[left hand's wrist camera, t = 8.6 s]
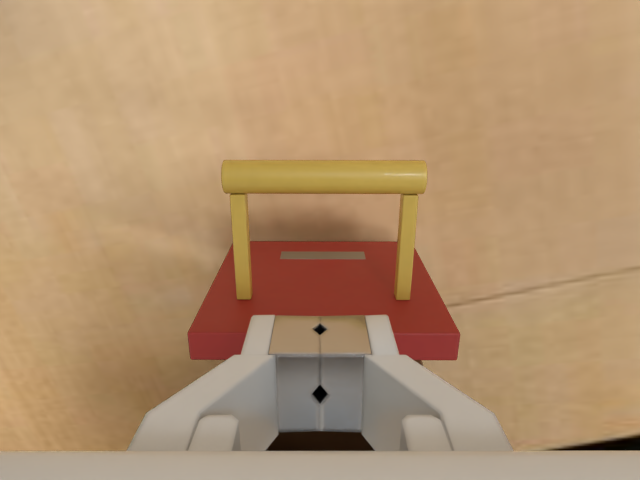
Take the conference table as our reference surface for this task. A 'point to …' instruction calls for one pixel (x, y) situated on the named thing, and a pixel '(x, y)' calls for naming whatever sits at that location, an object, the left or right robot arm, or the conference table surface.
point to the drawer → (324, 273)
